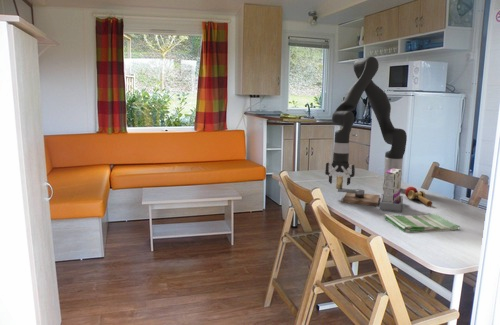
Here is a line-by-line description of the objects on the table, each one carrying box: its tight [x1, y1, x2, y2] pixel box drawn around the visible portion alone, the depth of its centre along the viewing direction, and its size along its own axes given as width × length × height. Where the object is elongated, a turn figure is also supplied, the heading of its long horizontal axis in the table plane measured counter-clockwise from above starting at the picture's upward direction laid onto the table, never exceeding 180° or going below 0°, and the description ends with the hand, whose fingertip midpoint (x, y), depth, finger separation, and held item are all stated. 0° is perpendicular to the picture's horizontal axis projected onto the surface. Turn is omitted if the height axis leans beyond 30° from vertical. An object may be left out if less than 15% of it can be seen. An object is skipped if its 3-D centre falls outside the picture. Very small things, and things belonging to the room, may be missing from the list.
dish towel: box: [384, 213, 461, 233], centre depth 162 cm, size 18×23×3 cm
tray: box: [379, 193, 404, 213], centre depth 187 cm, size 10×16×4 cm, turn 159°
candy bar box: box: [383, 169, 403, 204], centre depth 185 cm, size 11×5×16 cm, turn 146°
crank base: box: [342, 192, 381, 207], centre depth 197 cm, size 16×16×2 cm
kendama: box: [404, 186, 433, 207], centre depth 196 cm, size 8×6×18 cm
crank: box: [335, 175, 365, 198], centre depth 198 cm, size 14×4×9 cm, turn 69°
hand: (339, 184), depth 200 cm, fingers open, 8 cm apart
